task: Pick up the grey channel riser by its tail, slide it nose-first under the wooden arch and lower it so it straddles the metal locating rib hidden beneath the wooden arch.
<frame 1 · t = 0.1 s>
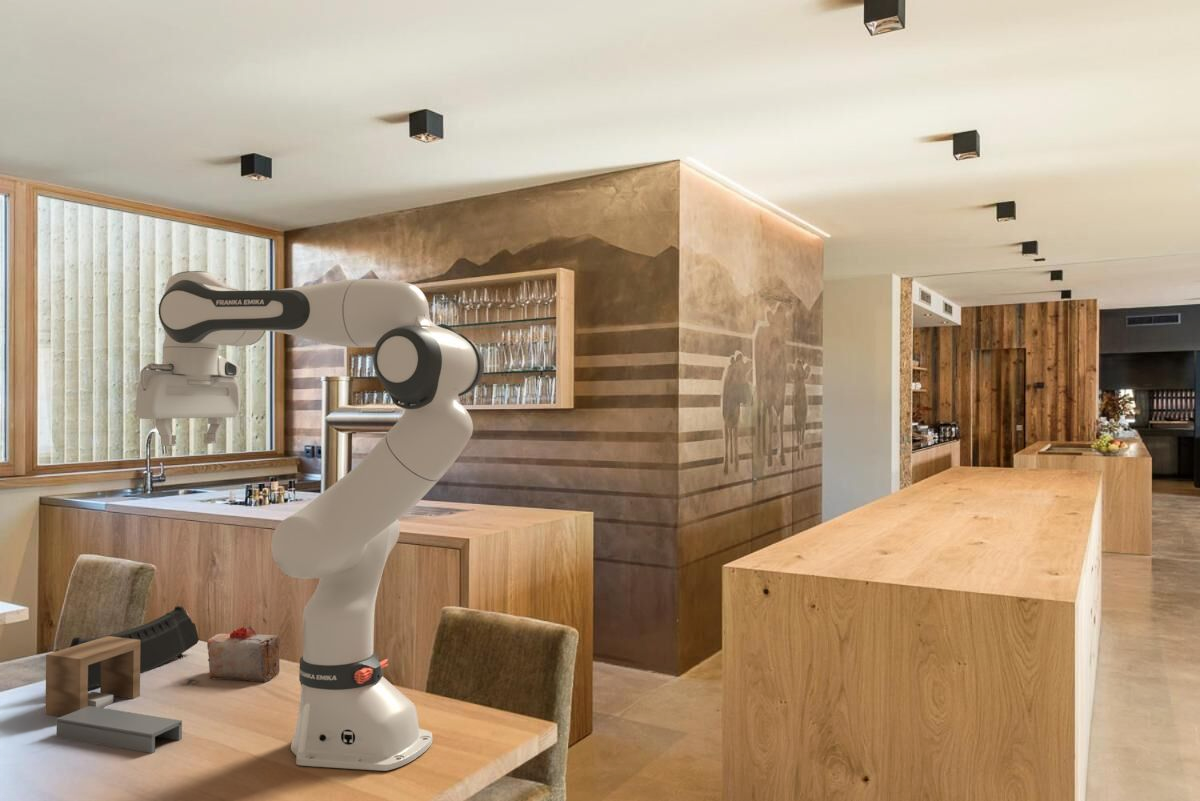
hand: (190, 444, 145), 48 cm above the table, tool pointing down, fingers open, 8 cm apart
grey channel riser: (119, 737, 137), on the table
food item: (243, 677, 168), on the table
wooden arch: (94, 704, 152), on the table
magazine: (133, 674, 169), on the table
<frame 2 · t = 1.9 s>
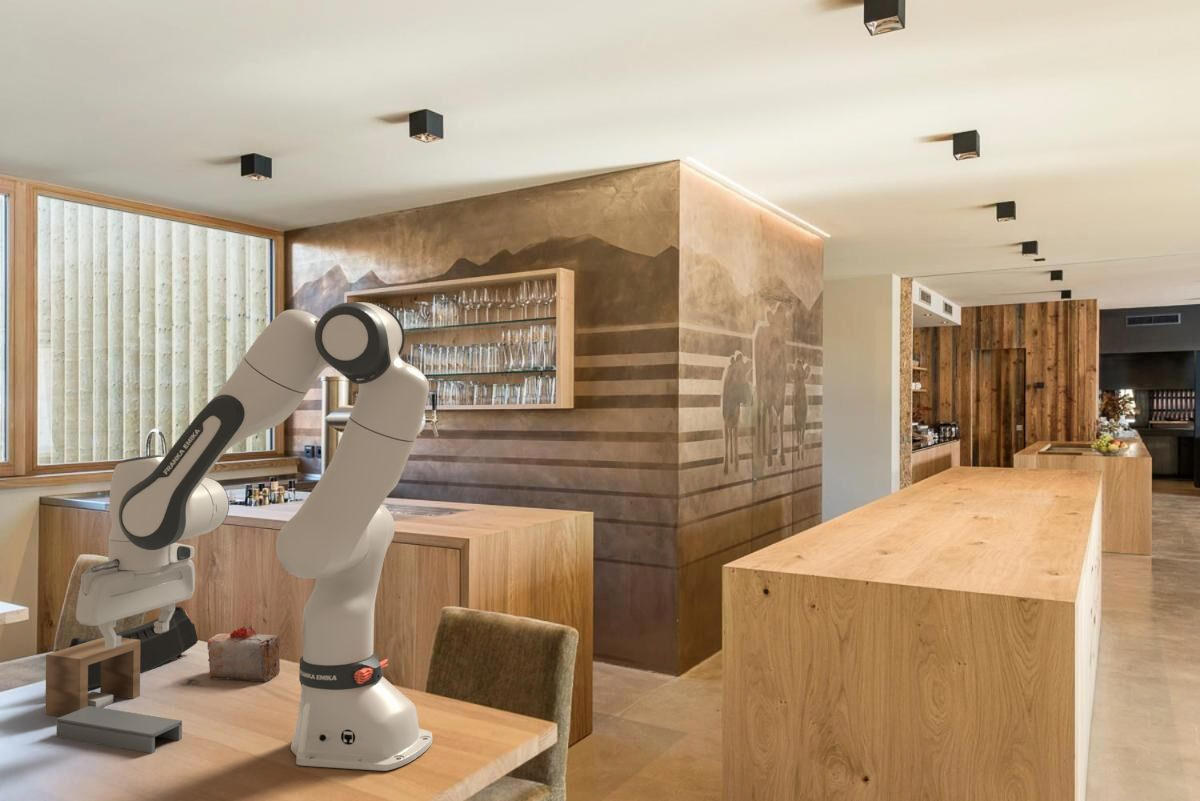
hand: (138, 639, 136), 16 cm above the table, tool pointing down, fingers open, 8 cm apart
nothing on the table moved.
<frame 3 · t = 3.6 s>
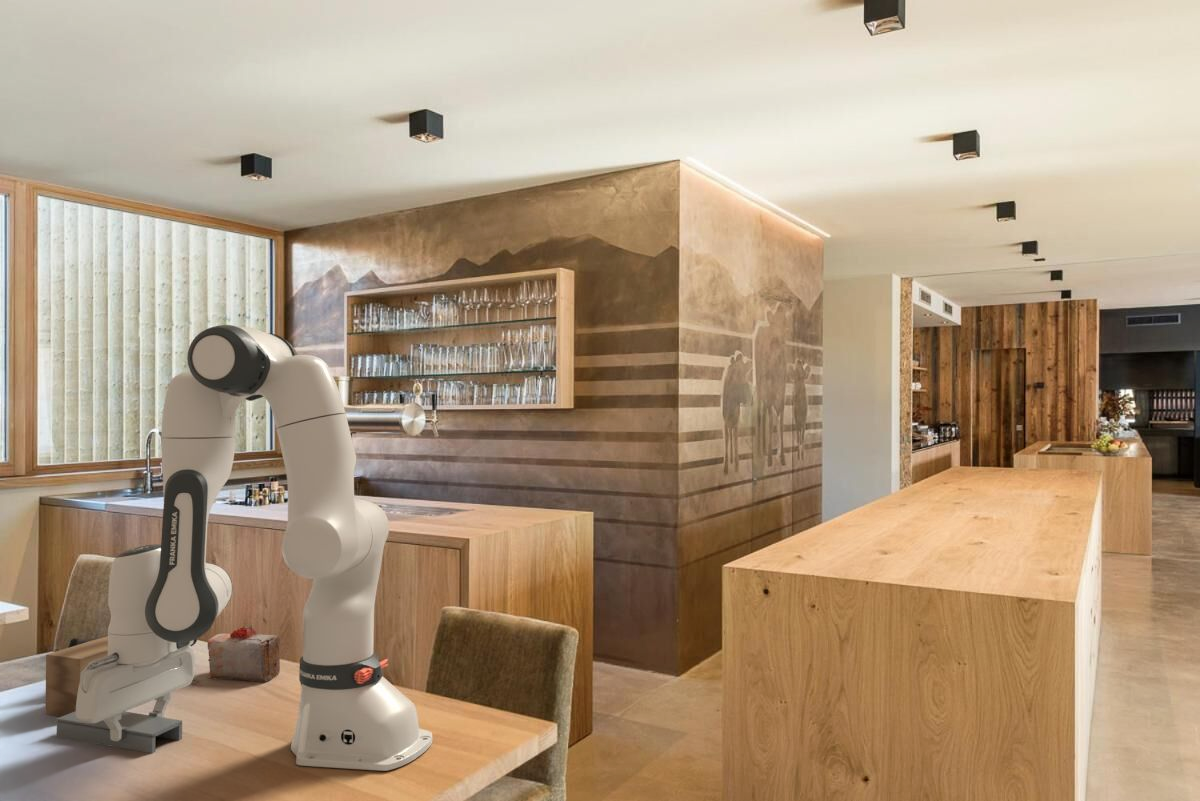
hand: (137, 730, 136), 2 cm above the table, tool pointing down, fingers closed on grey channel riser, 6 cm apart
grey channel riser: (119, 737, 137), on the table, touching gripper
everything else where it was.
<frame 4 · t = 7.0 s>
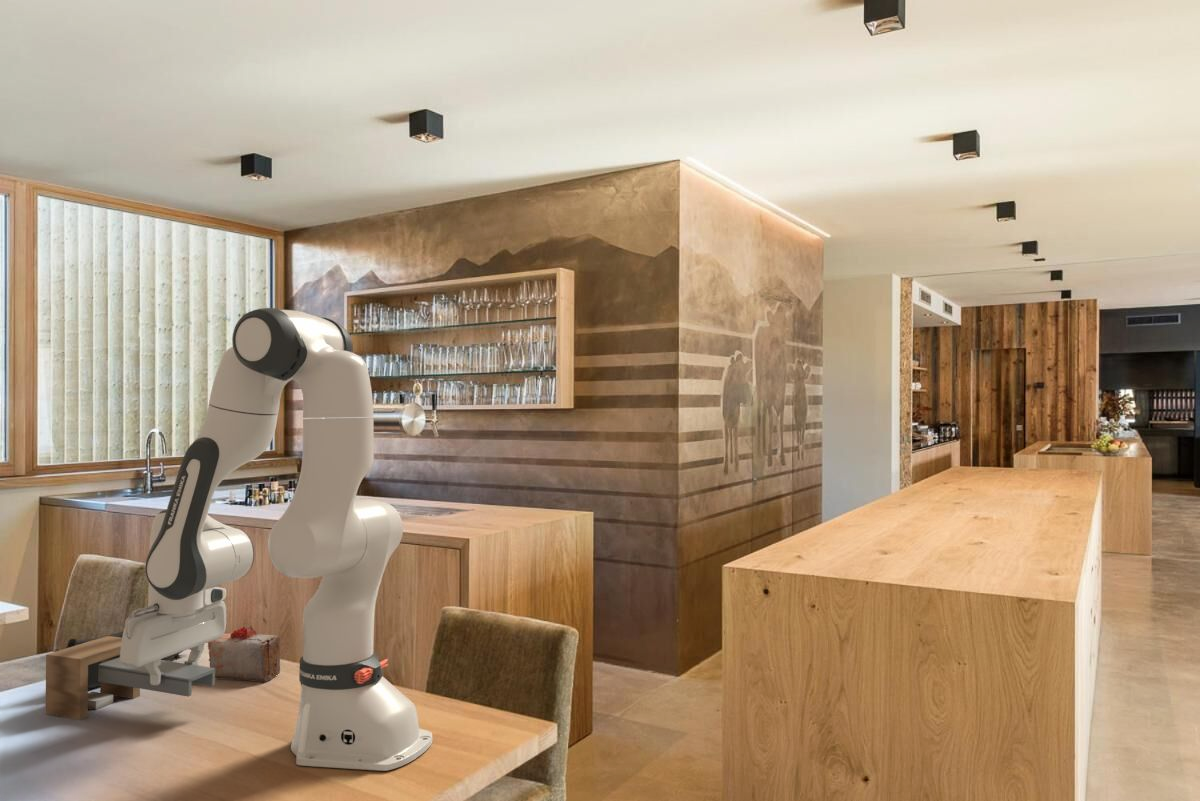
hand: (174, 677, 146), 7 cm above the table, tool pointing down, fingers closed on grey channel riser, 6 cm apart
grey channel riser: (156, 683, 147), point 5 cm above the table, touching gripper
everything else where it was.
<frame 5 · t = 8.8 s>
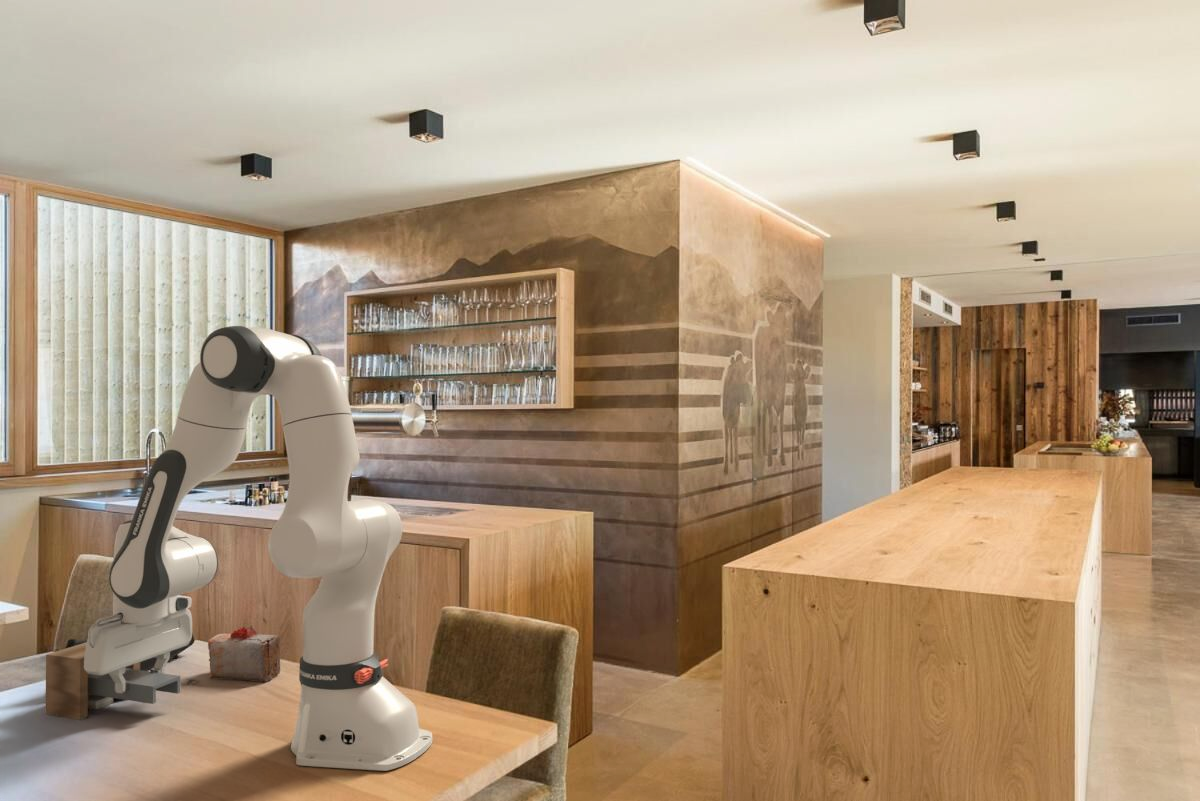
hand: (140, 684, 148), 5 cm above the table, tool pointing down, fingers closed on grey channel riser, 6 cm apart
grey channel riser: (122, 691, 150), point 3 cm above the table, touching gripper
everything else where it was.
when the fingers open (2 cm above the table, at t = 10.2 s): grey channel riser stays where it is, on the table.
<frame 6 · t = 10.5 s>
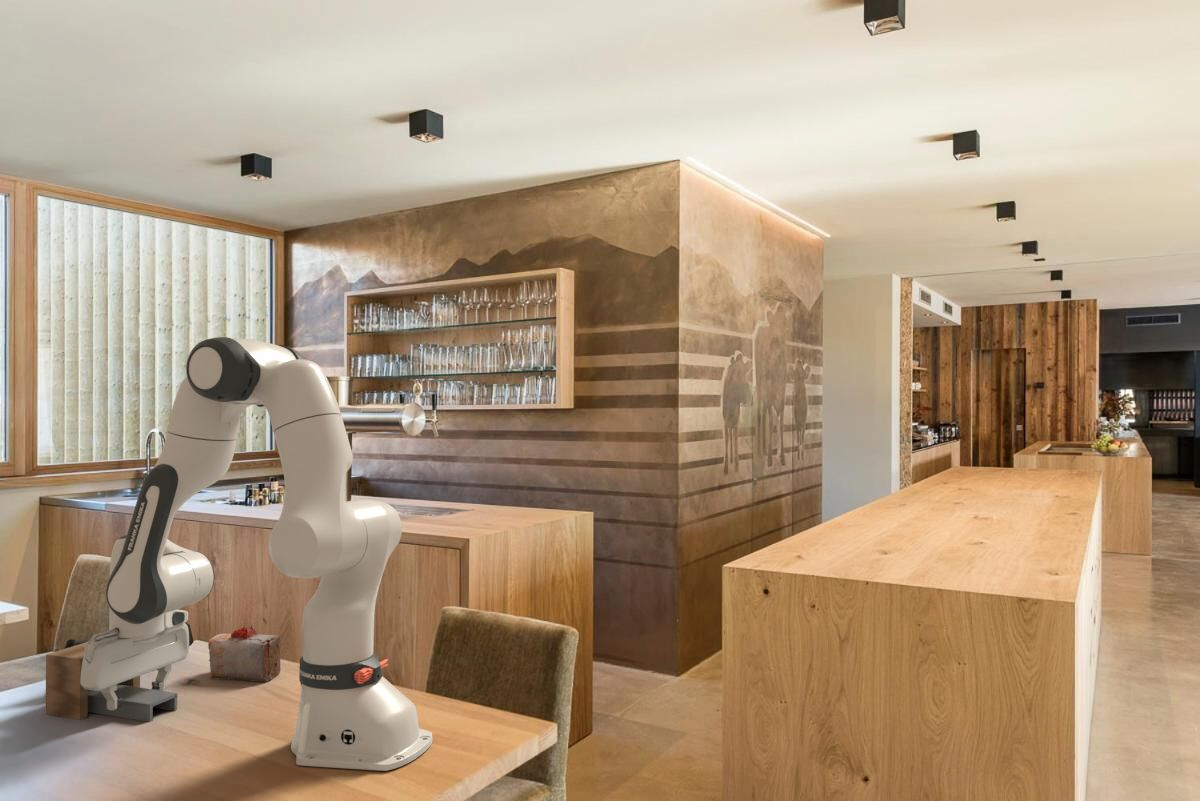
hand: (137, 699, 149), 2 cm above the table, tool pointing down, fingers open, 8 cm apart
grey channel riser: (119, 708, 150), on the table
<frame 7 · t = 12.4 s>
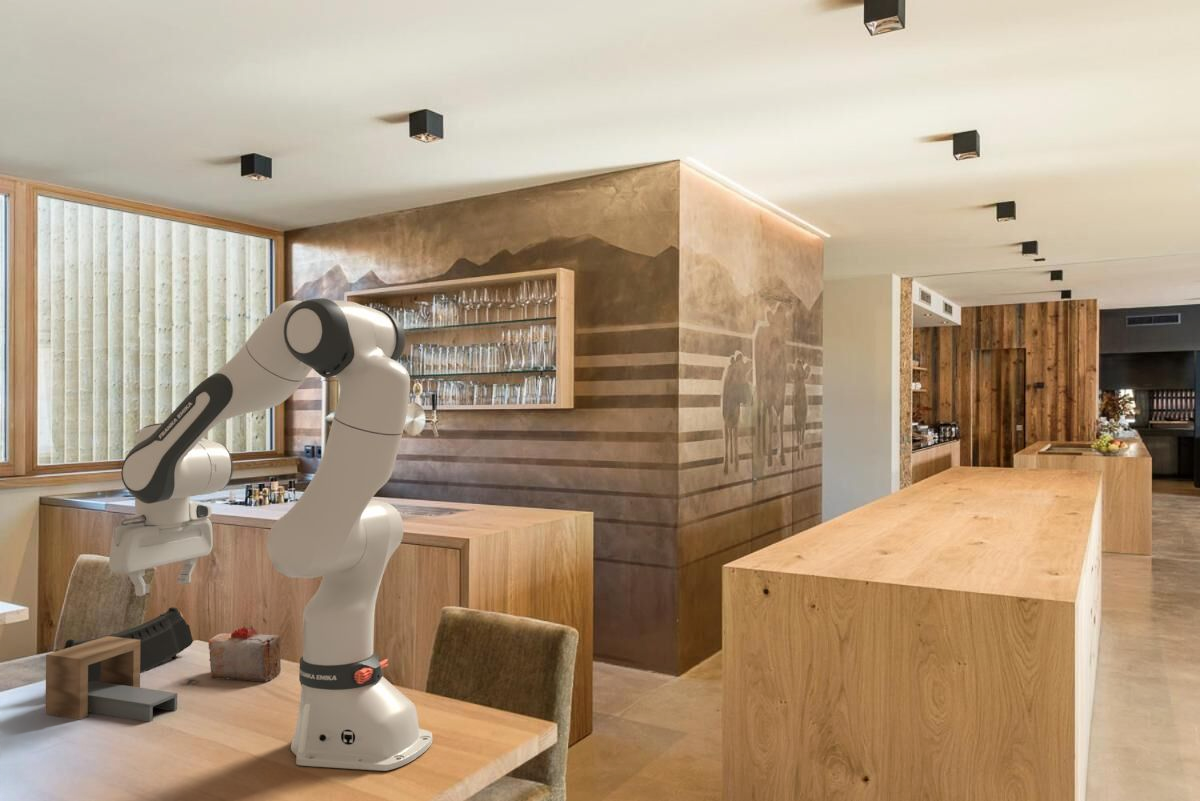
hand: (164, 589, 150), 21 cm above the table, tool pointing down, fingers open, 8 cm apart
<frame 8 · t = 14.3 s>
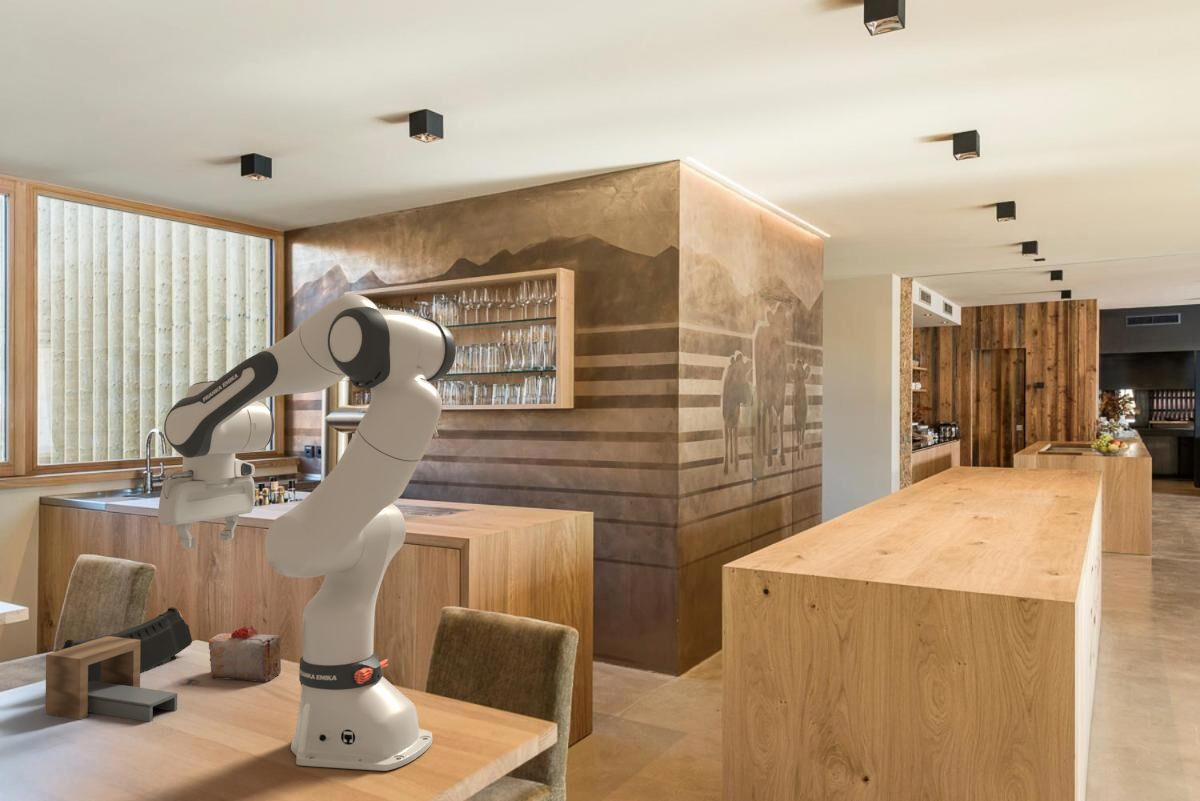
hand: (208, 543, 154), 29 cm above the table, tool pointing down, fingers open, 8 cm apart
at the end: grey channel riser 0.1 cm from the target spot, on the table; grey channel riser tilted 0°; the gripper is holding nothing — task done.
